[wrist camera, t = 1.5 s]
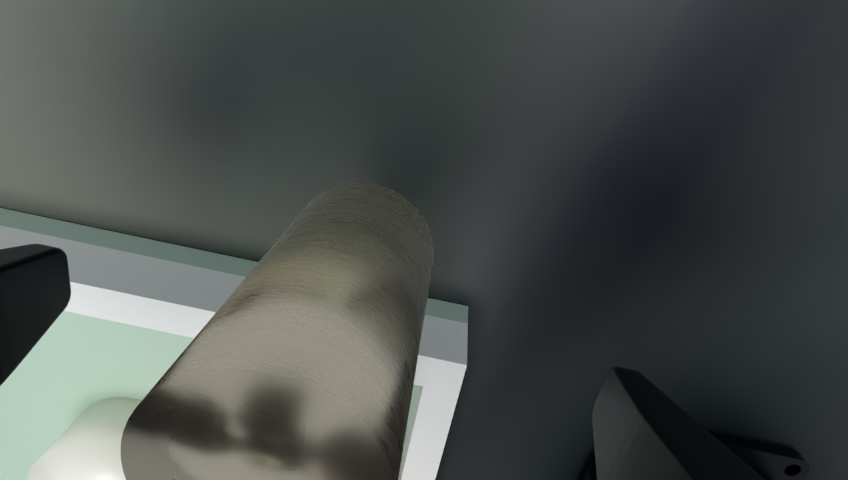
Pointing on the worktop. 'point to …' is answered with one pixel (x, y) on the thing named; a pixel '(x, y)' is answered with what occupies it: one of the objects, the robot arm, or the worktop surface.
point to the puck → (88, 445)
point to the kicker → (300, 355)
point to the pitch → (169, 339)
